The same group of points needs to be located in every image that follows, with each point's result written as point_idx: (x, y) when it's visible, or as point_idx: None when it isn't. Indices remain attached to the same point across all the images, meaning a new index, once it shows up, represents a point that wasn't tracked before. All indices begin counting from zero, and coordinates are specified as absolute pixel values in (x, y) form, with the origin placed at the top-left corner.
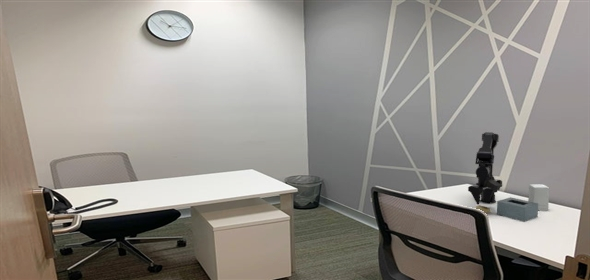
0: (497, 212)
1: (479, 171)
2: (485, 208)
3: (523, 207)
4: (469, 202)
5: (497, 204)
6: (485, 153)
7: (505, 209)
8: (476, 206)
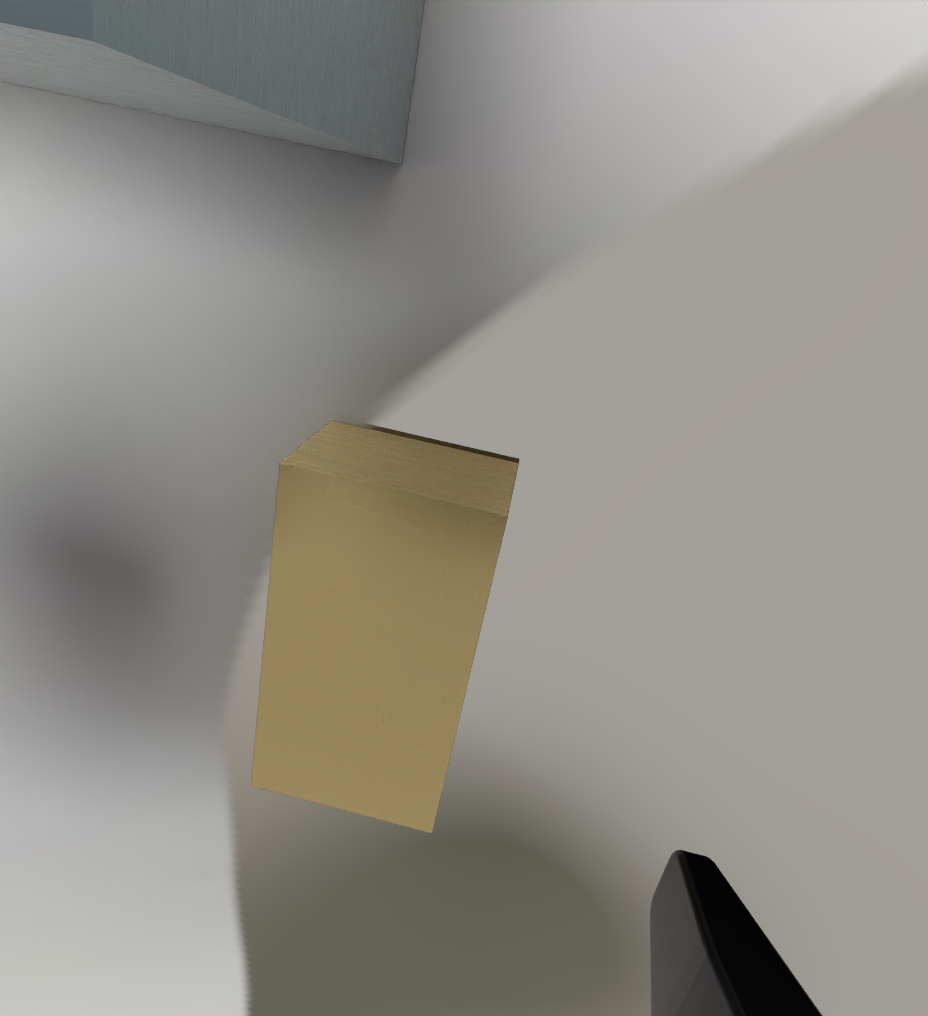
0: (385, 127)
1: None
2: (466, 565)
3: None
4: (17, 960)
5: (244, 71)
6: None
7: None
8: (434, 821)
